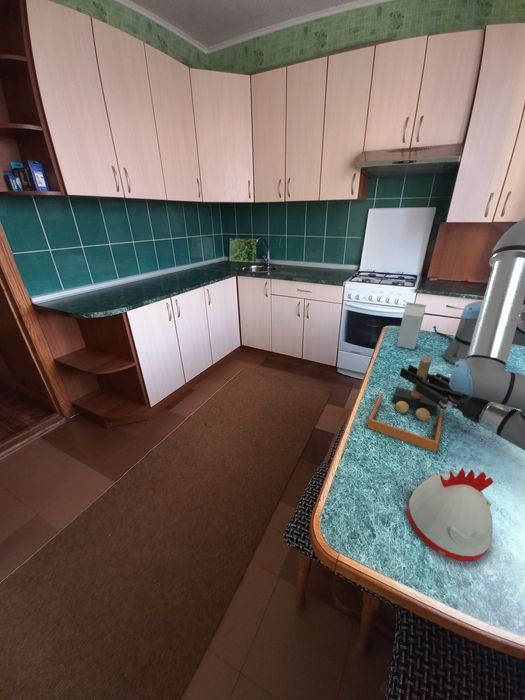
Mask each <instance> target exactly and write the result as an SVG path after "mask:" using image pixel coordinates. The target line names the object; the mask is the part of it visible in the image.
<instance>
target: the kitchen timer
mask: <svg viewBox="0 0 525 700" xmlns="http://www.w3.org/2000/svg"><path fill="white" fill-rule="evenodd" d="M493 483H494V480H493V479H492V476H490V477H488V478H487V475H486V473H485V471H481V472H480V473H478V475H477V476H476V475H475V472H474V469H470V470H469V472H468V473H467V475H466V470H465V469H464V468H463V467H462V468H461V469H460V470H459V472H458V473H454V472H453V471H452V470H451V471H449V473H440V474H435V473H429V474H428V475H427V479H426V480H424V481H423V482H422V483H421V484H419V485H418V486H417V487H416V488H415V489H414V491H413V492H412V494H411V496H410V498H409V500H408V503H407V510H406V511H407V517H408V520H409V523H410V525H411V526H412V528H413V530H414V532H415V533H416V534H417V536H418V537H419V538H420V539H421V541H423V543H425V544H426V545H427V546H429V547H430V548H431V549H432V550H434V551H435V552H437V553H438V554H440V555H443V556H444V557H445V558H449V559H452V560H455V561H459V562H474V561H478V560H480V559H482V557H483V556H484V555H485V554H486V553H487V551H488V550H489V548H490V546H491V542H492V538H493V529H494V528H493V516H492V511H491V506H492V503H490V501H489V500H488V499H487V498H486V496H485V495H484V493H483V491H484V490H485V489H487V488H488V487H490V486H491V485H492V484H493Z"/></svg>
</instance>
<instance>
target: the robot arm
mask: <svg viewBox="0 0 525 700" xmlns="http://www.w3.org/2000/svg"><path fill="white" fill-rule="evenodd" d="M488 264H489V266H490V267H491V272H490V274H489V278H488V282H487V285H486V289H485V293H484V295H483V299H482V301H475V302H470V303H467V304H466V305H465V306H464V308H463V311H462V313H461V314H460V319H459V323H458V326H457V329H456V331H455V336H454V338H452V337H451V336H450V335H447V334H444V333H442V332H439V331H437V326H436V325H434V326H433V327H432V328H433V331H434V332H435V334H437V335H440V336H443V337H446V338H447V339H449V345H448V346H447V347H446V349H445V350H444V353H443V358H444V360H445V361H447V362H448V363H449V364H452V365H454V366H453V369H452V371H451V375H450V377H448V376H447V375H444V374H441V373H438V372H437V373H436V374H434V373H428V375H427V379H426V381H424V380H422V379H423V377H420V376H418V375H417V371H418V367H416V366H413V365H412V364H409V365H408V367H407V369H406V368H404V367H401V368H400V372H399V377H401V378H402V379H405V380H406V381H408V382H409V383H411V384H413V385H414V384H415V385H416V388H415V390H416V391H417V392H419V393H420V394H422V395H423V396H425V397H427V398H428V399H430V400H431V401H433V402H434V403H436V404H437V405H438V406H437V407H439V408H440V409H441V410H446V409H447V408H453V409H455V410H458V411H460V412H461V415H462V416H463V417H464V418H465V419H467V420H469V421H471V422H473V423H474V424H479V426H480V427H482V428H484V429H486V430H487V431H489V432H491V433H493V434H494V435H496V436H498V437H500V438H501V439H503V440H505V441H507V442H508V443H510V444H512V445H513V446H516V447H517V448H518V449H520V450H522V451H524V452H525V374H522V373H521V374H520V373H516V372H512V371H507V370H506V366H507V364H508V360H509V356H510V352H511V349H512V345H514V346H520V347H524V348H525V304H524V301H525V217H523V218H522V219H521V220H519V221H517V222H516V223H515V224H513V225H512V226H511V227H510V228H509V229H508V230H506V232H504V233H503V234H502V235H501V237H499V240H498V241H497V243H496V244H495V246H494V247H493V249H492V251H491V255H490V257H489V261H488Z"/></svg>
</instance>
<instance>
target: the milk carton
mask: <svg viewBox="0 0 525 700" xmlns="http://www.w3.org/2000/svg"><path fill="white" fill-rule="evenodd" d="M426 306H427V305H426V304H422V303H415V302H408V301H406V304H405V307H404V311H403V314H402V319H401V323H400V327H399V331H398V337H397V342H396V347H400V348H405V349H408V350H409V349H410V350H415V349H416V346H417V344H418V340H419V336H420V332H421V329H422V324H423V320H424V316H425V313H426Z"/></svg>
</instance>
